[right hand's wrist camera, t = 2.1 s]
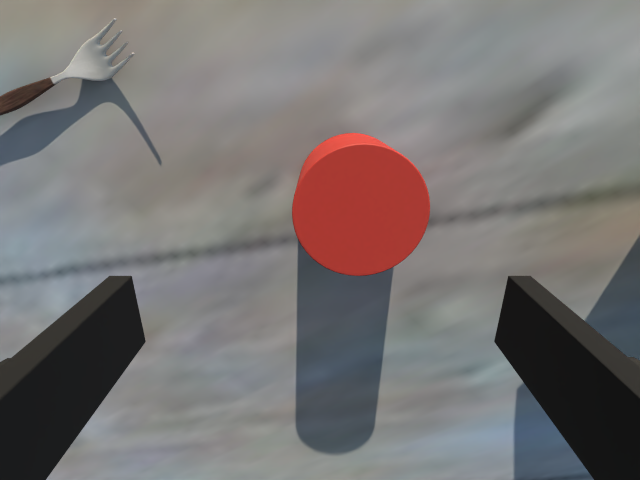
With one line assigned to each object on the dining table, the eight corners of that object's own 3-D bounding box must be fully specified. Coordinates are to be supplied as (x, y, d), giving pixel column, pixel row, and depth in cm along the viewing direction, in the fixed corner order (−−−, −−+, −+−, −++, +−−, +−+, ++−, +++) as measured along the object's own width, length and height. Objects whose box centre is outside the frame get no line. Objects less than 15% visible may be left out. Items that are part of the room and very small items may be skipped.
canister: (344, 109, 27) (352, 111, 20) (425, 178, 29) (459, 203, 22) (277, 196, 29) (264, 225, 22) (357, 255, 31) (368, 299, 24)
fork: (-55, 113, 27) (-83, 114, 25) (128, 21, 25) (113, 14, 23) (-30, 146, 28) (-56, 149, 26) (148, 60, 25) (135, 57, 24)
